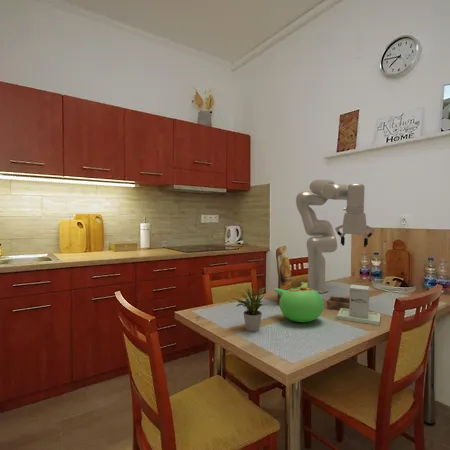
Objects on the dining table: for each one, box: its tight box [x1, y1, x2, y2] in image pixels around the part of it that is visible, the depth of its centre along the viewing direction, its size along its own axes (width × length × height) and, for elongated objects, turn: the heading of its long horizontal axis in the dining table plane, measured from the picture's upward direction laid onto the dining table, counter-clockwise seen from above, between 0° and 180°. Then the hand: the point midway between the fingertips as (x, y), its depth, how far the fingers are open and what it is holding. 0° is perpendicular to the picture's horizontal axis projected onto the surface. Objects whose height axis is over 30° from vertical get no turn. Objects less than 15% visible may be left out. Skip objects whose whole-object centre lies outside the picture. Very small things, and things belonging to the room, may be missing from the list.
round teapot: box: [273, 282, 325, 323], centre depth 126 cm, size 18×17×15 cm
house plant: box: [232, 286, 268, 332], centre depth 117 cm, size 14×14×16 cm
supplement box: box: [349, 284, 370, 319], centre depth 128 cm, size 7×7×13 cm
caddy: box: [326, 295, 350, 311], centre depth 144 cm, size 10×10×4 cm
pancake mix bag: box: [275, 245, 293, 306], centre depth 153 cm, size 7×19×28 cm, turn 148°
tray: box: [336, 308, 381, 326], centre depth 129 cm, size 16×12×2 cm
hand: (353, 246), depth 144 cm, fingers open, 9 cm apart
